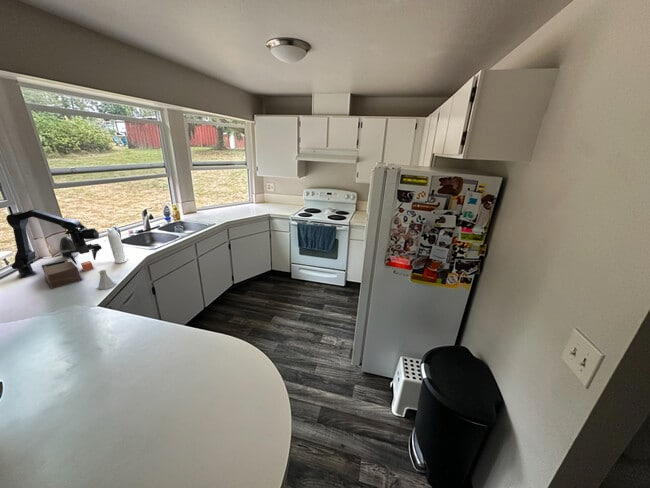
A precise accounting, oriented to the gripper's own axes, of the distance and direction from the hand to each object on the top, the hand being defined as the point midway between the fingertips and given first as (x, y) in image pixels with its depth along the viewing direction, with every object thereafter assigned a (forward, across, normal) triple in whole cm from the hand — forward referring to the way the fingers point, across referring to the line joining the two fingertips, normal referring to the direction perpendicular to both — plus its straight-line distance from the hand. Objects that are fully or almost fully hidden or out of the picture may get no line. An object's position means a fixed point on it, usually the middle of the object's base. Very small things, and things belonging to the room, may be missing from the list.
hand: (85, 262), depth 164 cm
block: (+5, 0, 0) cm, 5 cm away
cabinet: (+5, -13, -9) cm, 17 cm away
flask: (+5, 0, -37) cm, 37 cm away
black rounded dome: (+5, -1, +36) cm, 36 cm away
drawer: (+4, -13, +2) cm, 14 cm away
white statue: (+5, +17, -3) cm, 18 cm away
